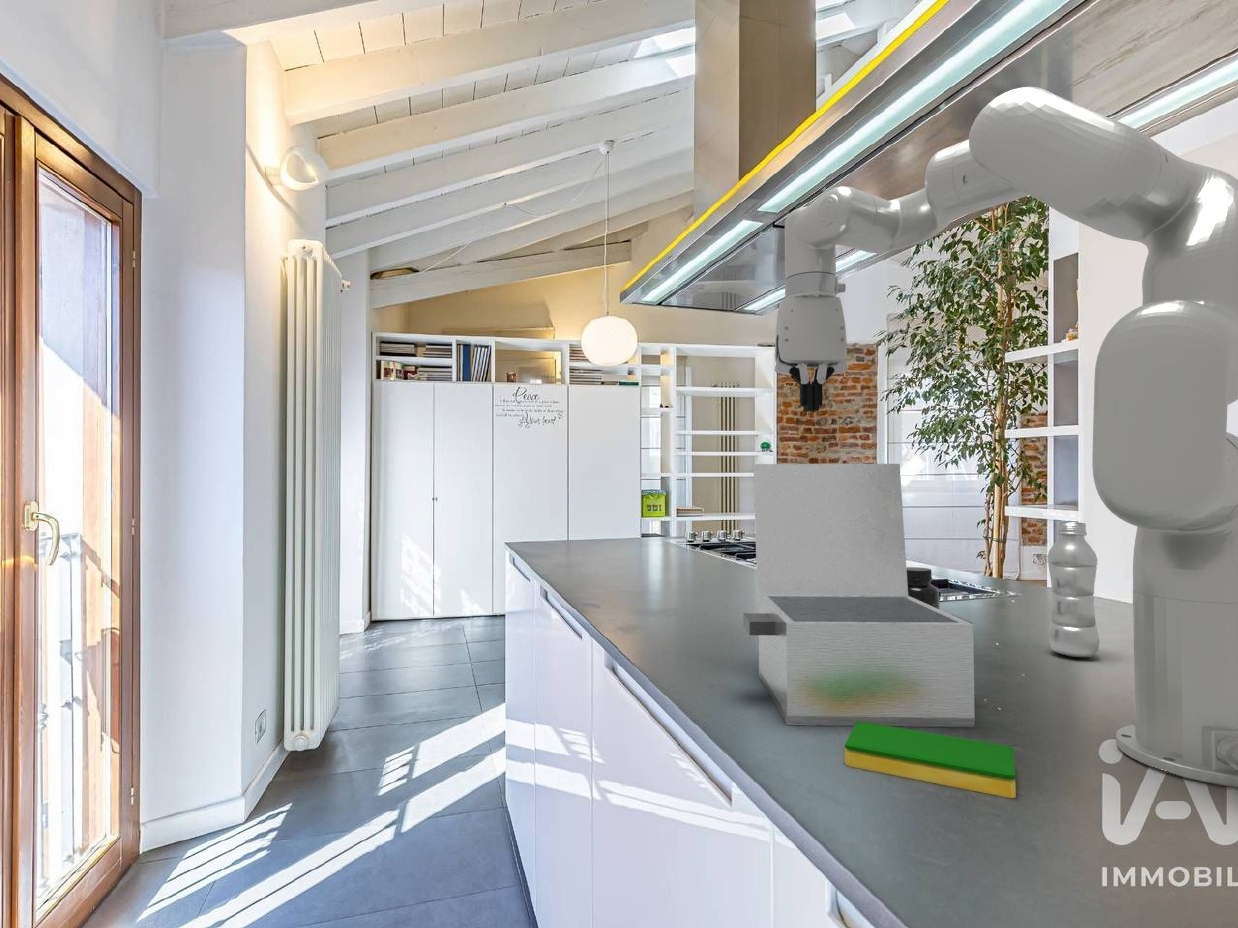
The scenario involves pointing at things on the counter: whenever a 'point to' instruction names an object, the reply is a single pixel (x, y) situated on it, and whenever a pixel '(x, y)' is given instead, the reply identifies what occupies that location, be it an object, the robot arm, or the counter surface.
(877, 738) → the dish sponge
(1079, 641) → the plastic bottle
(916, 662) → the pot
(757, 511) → the lid
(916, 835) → the counter surface
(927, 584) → the supplement bottle
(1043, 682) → the counter surface
